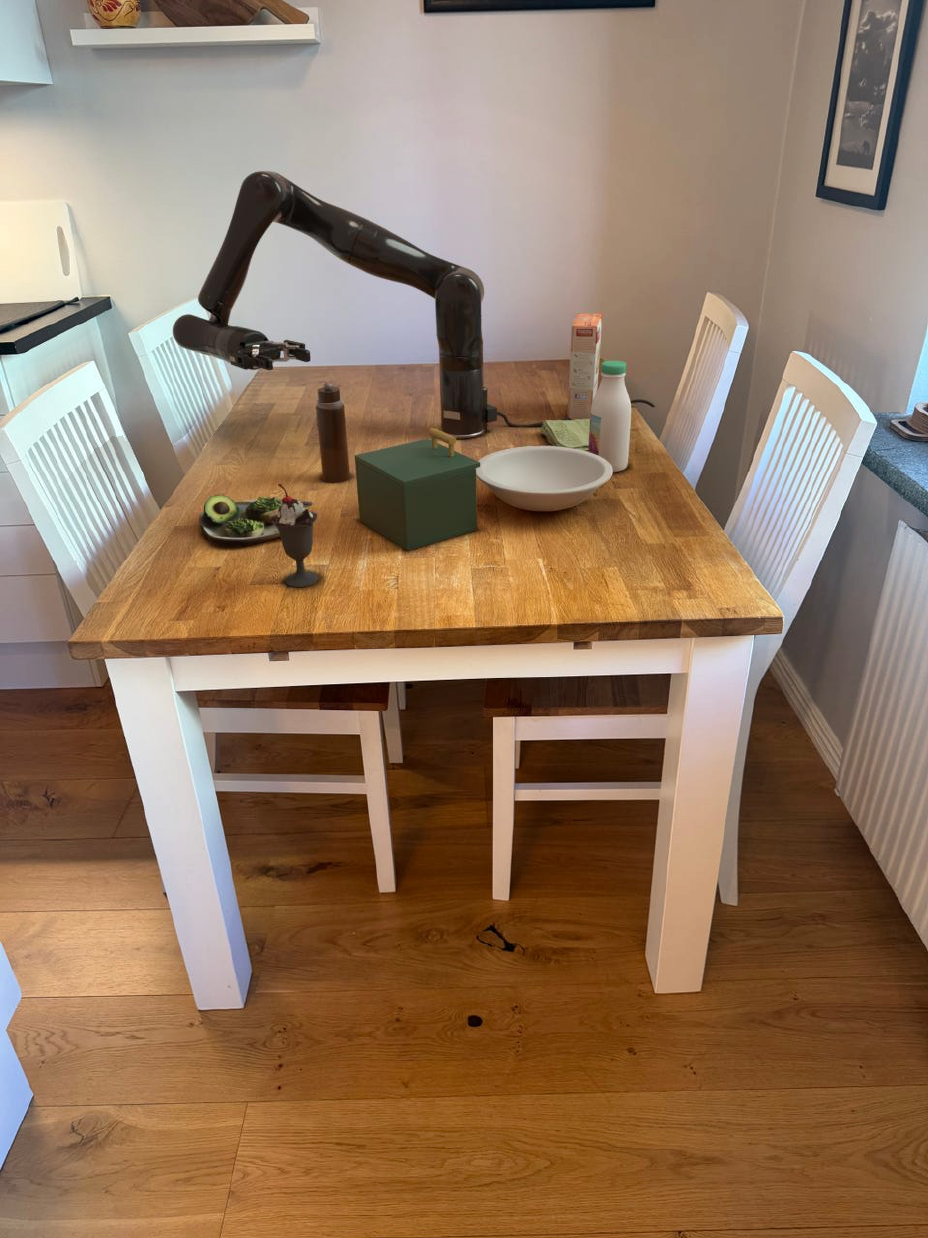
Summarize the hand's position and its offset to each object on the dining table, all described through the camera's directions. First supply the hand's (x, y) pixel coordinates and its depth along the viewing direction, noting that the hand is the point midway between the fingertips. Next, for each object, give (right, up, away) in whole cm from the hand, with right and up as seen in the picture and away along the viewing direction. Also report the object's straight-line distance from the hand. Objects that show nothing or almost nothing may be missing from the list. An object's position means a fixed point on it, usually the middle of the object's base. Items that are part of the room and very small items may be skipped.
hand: (290, 360), depth 173 cm
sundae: (+8, -43, -35) cm, 56 cm away
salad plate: (-4, -33, -17) cm, 37 cm away
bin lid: (+25, -23, -23) cm, 41 cm away
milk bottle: (+61, -19, +6) cm, 64 cm away
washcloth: (+57, -12, +18) cm, 61 cm away
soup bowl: (+47, -28, -10) cm, 55 cm away
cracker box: (+60, -2, +37) cm, 71 cm away
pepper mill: (+8, -22, +3) cm, 23 cm away
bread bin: (+25, -33, -18) cm, 45 cm away
